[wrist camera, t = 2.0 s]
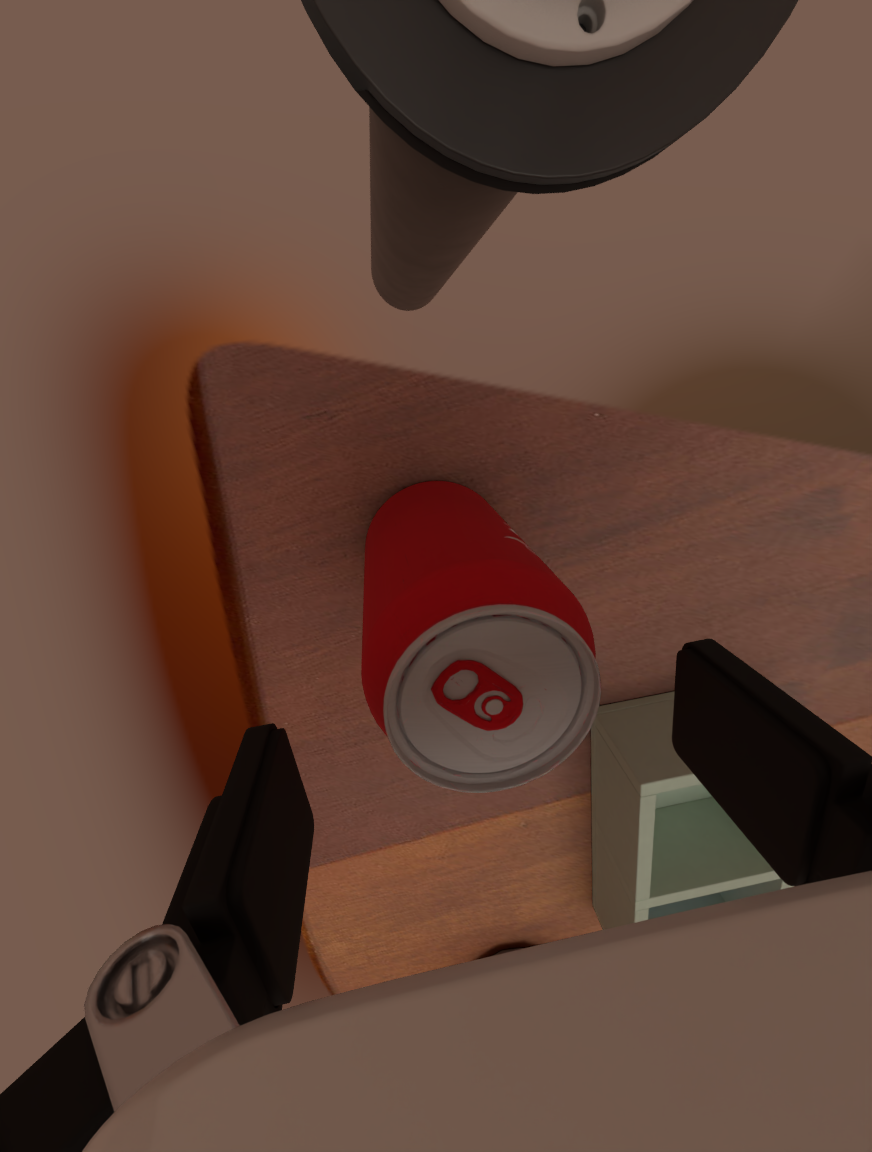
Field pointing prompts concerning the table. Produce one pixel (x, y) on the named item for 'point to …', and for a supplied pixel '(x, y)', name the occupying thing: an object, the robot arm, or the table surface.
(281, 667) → the table surface
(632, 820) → the grey divided storage box
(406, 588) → the beverage can
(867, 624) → the table surface
